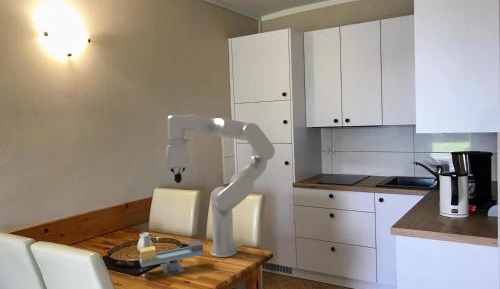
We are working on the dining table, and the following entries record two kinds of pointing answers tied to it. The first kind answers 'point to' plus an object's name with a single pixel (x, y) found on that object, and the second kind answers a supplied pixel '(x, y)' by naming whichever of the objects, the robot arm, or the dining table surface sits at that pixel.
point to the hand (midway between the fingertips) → (178, 182)
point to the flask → (146, 241)
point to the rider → (148, 253)
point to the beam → (176, 254)
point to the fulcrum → (172, 268)
